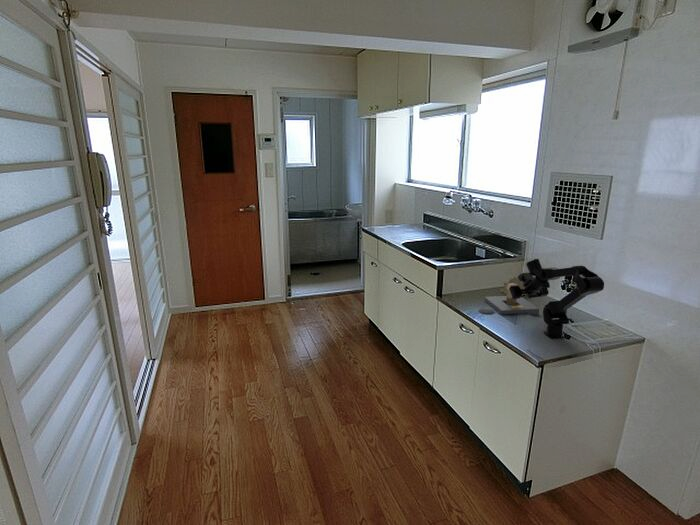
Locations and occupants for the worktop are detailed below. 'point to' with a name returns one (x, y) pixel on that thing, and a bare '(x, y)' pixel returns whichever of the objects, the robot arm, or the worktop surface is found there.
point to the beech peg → (510, 296)
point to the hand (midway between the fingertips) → (520, 297)
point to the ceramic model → (515, 281)
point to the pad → (486, 311)
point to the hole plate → (503, 308)
